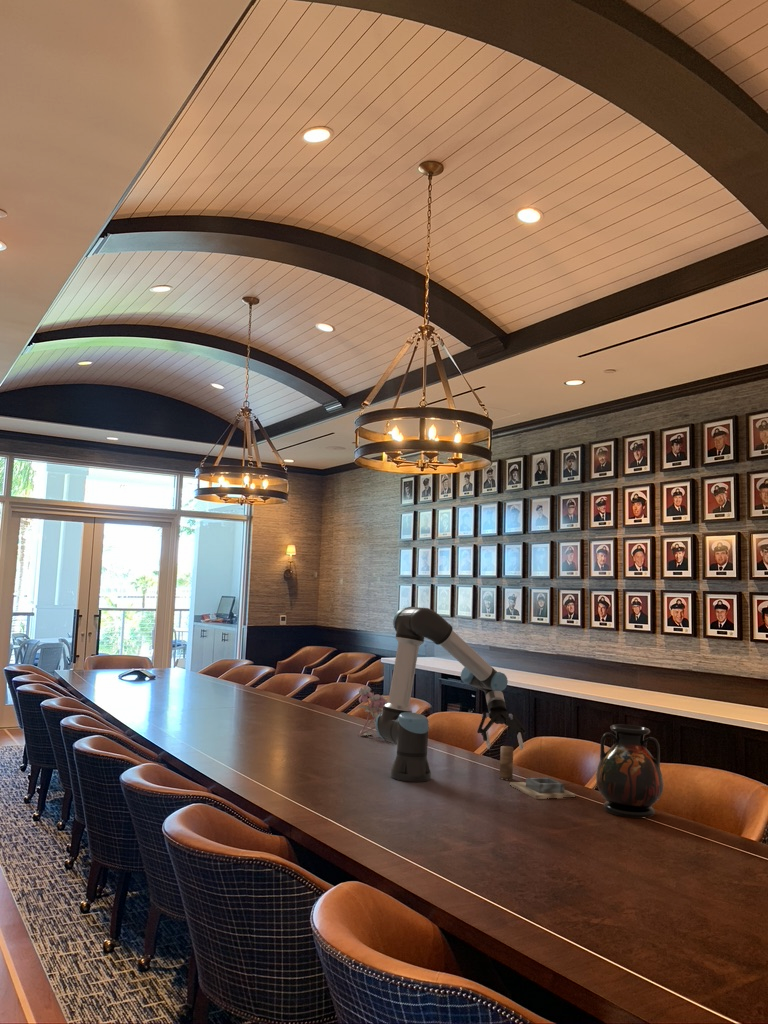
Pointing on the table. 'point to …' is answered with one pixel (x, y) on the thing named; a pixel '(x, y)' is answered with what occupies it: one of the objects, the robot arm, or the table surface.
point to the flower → (376, 702)
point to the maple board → (542, 788)
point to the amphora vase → (629, 773)
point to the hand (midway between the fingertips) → (505, 747)
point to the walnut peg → (506, 762)
